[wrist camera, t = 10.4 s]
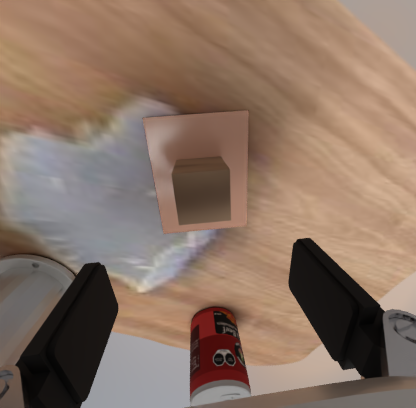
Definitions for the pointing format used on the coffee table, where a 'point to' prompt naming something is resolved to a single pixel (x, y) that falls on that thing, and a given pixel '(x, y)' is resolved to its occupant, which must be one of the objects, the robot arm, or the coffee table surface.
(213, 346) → the canned food
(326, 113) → the coffee table surface
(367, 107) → the coffee table surface
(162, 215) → the terracotta tile
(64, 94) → the coffee table surface
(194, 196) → the walnut block
